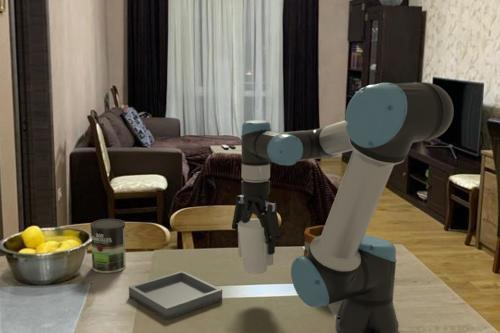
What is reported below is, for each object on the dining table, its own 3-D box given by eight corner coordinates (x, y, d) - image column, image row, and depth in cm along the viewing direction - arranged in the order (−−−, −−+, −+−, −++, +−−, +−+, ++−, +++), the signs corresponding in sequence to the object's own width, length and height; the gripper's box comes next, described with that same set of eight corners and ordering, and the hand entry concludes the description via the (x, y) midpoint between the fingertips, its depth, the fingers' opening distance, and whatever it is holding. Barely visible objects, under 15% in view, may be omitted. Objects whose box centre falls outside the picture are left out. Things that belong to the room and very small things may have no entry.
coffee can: (115, 275, 177) (114, 230, 174) (85, 271, 180) (83, 226, 177) (132, 263, 187) (131, 220, 184) (103, 259, 190) (101, 217, 187)
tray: (222, 300, 161) (222, 289, 160) (167, 319, 149) (166, 308, 148) (182, 280, 174) (182, 270, 173) (129, 297, 162) (128, 286, 161)
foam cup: (269, 277, 156) (269, 229, 153) (234, 274, 158) (234, 227, 155) (275, 264, 165) (275, 219, 163) (242, 262, 167) (242, 217, 164)
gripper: (296, 184, 151) (294, 267, 155) (238, 171, 167) (238, 247, 171) (275, 188, 146) (274, 274, 150) (218, 175, 162) (218, 253, 166)
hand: (255, 260), depth 161 cm, fingers closed on foam cup, 9 cm apart
